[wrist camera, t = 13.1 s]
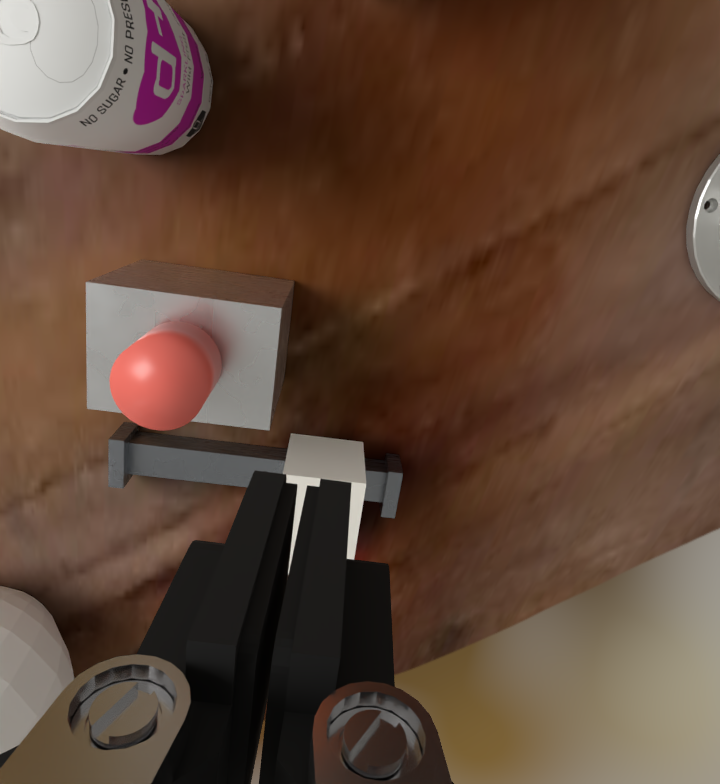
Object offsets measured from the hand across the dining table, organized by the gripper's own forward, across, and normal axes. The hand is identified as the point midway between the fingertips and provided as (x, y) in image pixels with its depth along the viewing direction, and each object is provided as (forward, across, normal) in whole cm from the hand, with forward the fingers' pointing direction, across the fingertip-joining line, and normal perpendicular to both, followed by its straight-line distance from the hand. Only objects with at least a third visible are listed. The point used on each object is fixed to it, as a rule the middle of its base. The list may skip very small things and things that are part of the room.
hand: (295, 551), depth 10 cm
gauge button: (+24, +8, +4) cm, 26 cm away
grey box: (+31, +9, +4) cm, 32 cm away
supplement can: (+31, +14, -10) cm, 35 cm away
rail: (+31, +5, +14) cm, 34 cm away
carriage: (+31, 0, +14) cm, 34 cm away
